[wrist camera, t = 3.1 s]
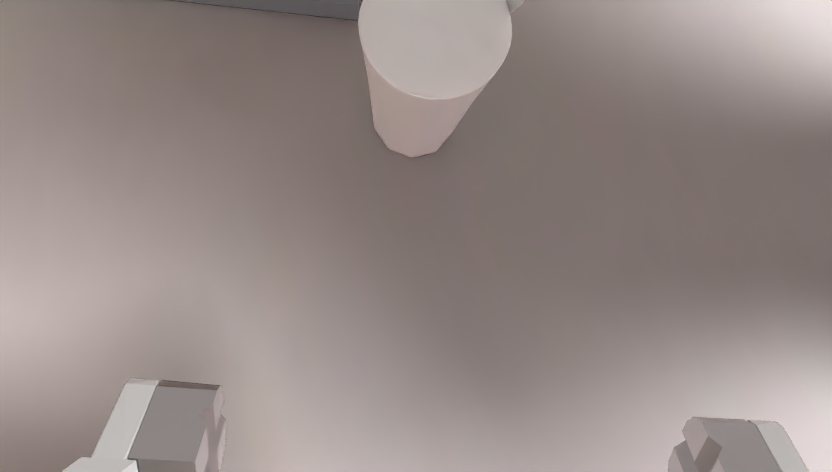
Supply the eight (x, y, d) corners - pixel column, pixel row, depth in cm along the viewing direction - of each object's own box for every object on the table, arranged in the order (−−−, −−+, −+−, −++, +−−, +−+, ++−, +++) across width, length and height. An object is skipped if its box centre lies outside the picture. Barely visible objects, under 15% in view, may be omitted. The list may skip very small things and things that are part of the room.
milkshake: (500, 154, 28) (577, 41, 18) (373, 185, 28) (383, 85, 18) (469, 53, 29) (528, -107, 19) (345, 81, 28) (340, -71, 18)
